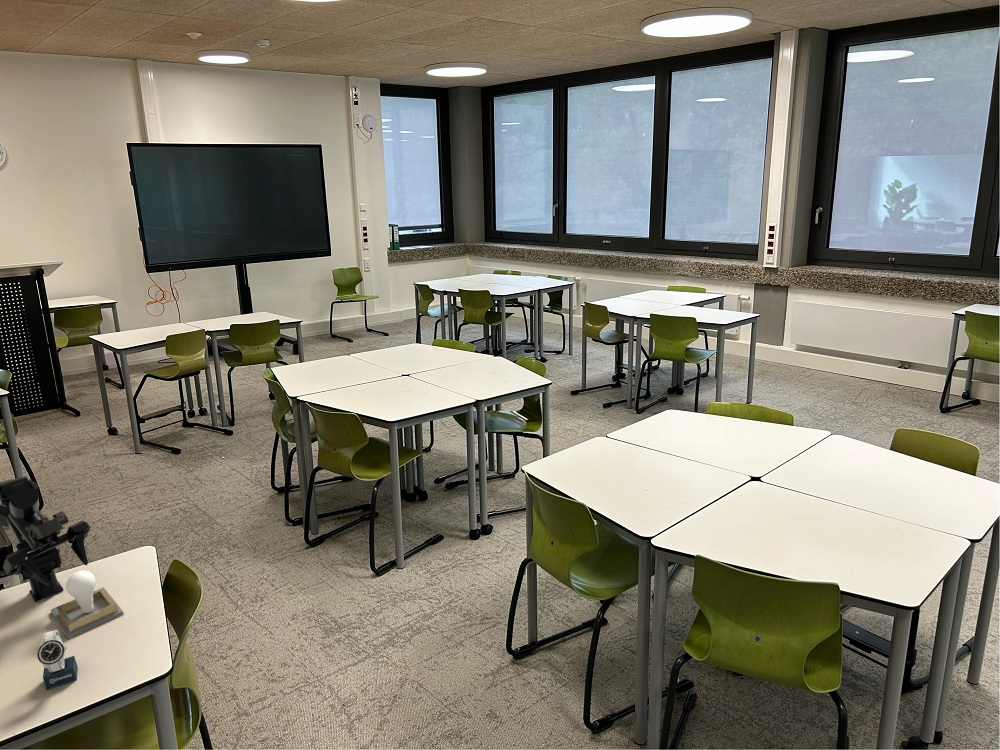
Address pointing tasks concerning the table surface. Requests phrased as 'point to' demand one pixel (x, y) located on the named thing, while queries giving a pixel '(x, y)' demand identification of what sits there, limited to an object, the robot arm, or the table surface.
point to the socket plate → (86, 614)
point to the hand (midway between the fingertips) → (68, 574)
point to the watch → (56, 661)
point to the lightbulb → (82, 589)
